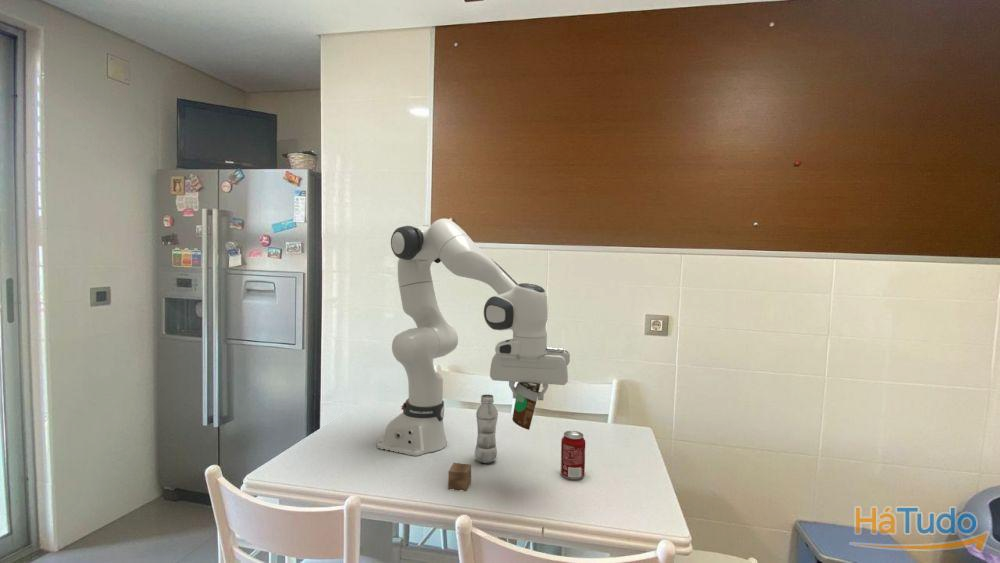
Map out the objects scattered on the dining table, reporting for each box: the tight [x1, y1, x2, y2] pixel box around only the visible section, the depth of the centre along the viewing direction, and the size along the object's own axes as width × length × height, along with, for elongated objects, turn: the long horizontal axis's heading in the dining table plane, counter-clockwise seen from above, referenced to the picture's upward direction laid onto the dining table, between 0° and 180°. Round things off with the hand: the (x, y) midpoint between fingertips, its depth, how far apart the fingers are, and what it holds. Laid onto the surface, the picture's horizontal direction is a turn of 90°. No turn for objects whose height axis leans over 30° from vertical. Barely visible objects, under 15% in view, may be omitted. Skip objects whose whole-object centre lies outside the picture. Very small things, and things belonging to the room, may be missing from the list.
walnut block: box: [447, 462, 472, 492], centre depth 121 cm, size 5×5×5 cm
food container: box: [511, 382, 541, 431], centre depth 117 cm, size 12×6×10 cm, turn 171°
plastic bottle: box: [474, 394, 499, 464], centre depth 135 cm, size 6×7×20 cm
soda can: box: [560, 430, 586, 481], centre depth 127 cm, size 7×7×12 cm
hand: (528, 398), depth 117 cm, fingers closed on food container, 5 cm apart
